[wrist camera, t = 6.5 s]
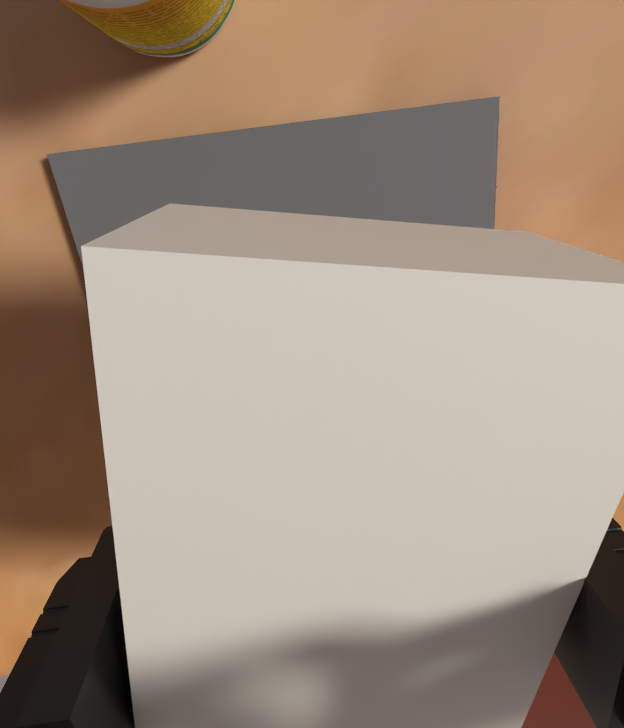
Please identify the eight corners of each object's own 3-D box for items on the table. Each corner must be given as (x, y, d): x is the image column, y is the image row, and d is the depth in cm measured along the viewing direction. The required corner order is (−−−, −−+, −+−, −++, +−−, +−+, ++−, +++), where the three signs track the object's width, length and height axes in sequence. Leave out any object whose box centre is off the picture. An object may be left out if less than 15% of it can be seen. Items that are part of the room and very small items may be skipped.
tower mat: (492, 98, 17) (499, 96, 17) (479, 459, 24) (484, 466, 23) (54, 154, 17) (46, 154, 16) (163, 503, 24) (160, 511, 23)
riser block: (528, 231, 9) (711, 290, 5) (415, 663, 13) (466, 852, 10) (169, 203, 8) (81, 246, 4) (186, 665, 13) (151, 868, 9)
